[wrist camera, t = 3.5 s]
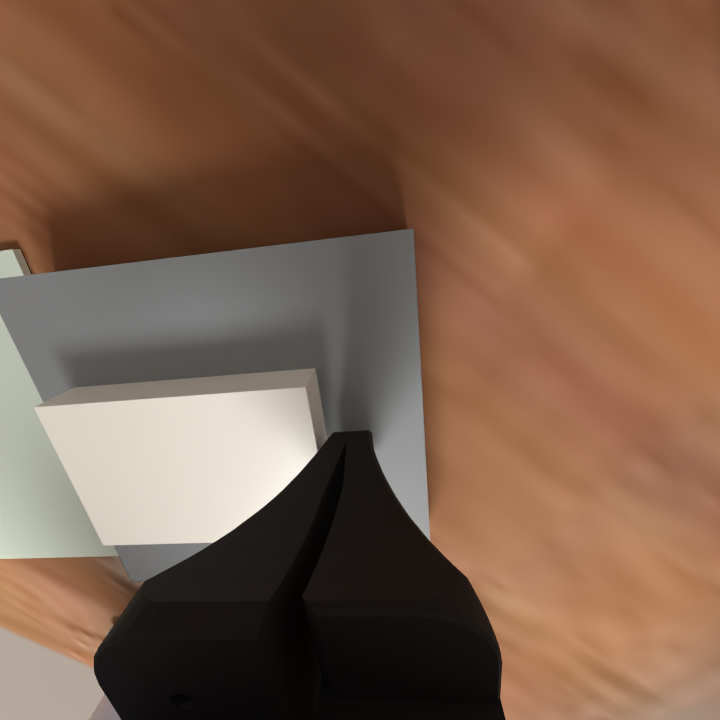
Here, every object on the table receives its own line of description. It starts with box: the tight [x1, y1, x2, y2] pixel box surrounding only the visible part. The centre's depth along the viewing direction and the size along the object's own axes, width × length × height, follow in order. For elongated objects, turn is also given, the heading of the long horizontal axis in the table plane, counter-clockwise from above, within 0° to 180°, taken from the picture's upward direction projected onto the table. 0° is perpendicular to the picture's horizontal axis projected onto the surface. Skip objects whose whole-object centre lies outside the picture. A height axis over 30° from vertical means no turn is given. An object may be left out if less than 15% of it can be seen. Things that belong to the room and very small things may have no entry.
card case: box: [34, 368, 327, 545], centre depth 12 cm, size 6×9×2 cm, turn 96°
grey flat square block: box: [0, 229, 430, 581], centre depth 14 cm, size 14×14×2 cm
